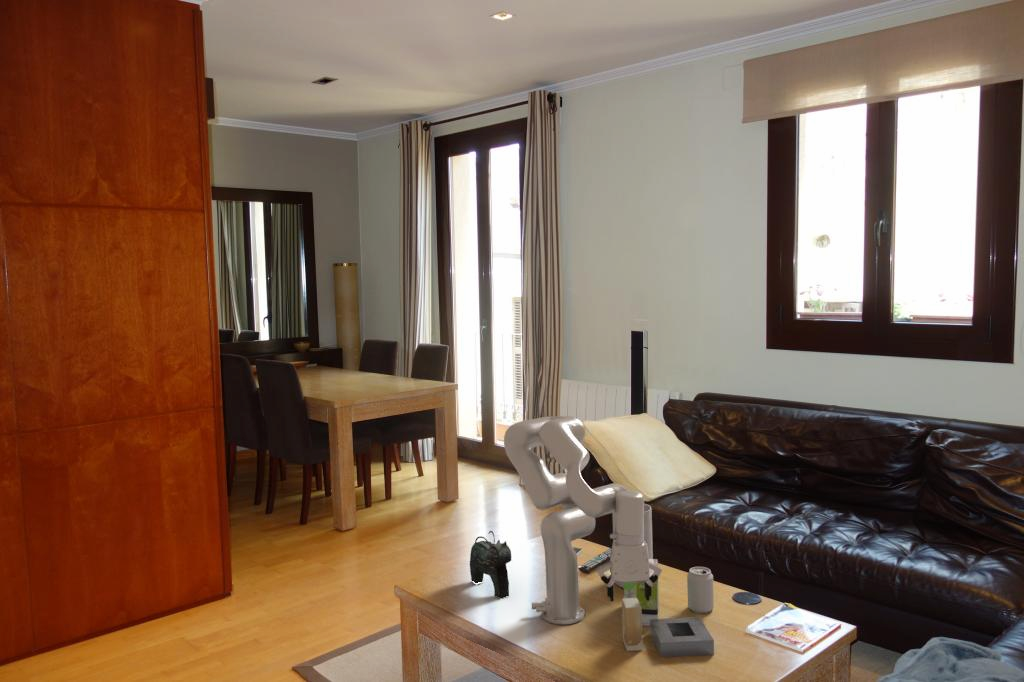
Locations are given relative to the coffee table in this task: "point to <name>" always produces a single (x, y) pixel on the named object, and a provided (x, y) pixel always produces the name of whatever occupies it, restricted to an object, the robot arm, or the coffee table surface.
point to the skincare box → (632, 624)
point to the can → (700, 590)
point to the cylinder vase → (646, 533)
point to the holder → (681, 637)
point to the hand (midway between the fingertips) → (629, 598)
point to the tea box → (639, 592)
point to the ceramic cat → (491, 564)
